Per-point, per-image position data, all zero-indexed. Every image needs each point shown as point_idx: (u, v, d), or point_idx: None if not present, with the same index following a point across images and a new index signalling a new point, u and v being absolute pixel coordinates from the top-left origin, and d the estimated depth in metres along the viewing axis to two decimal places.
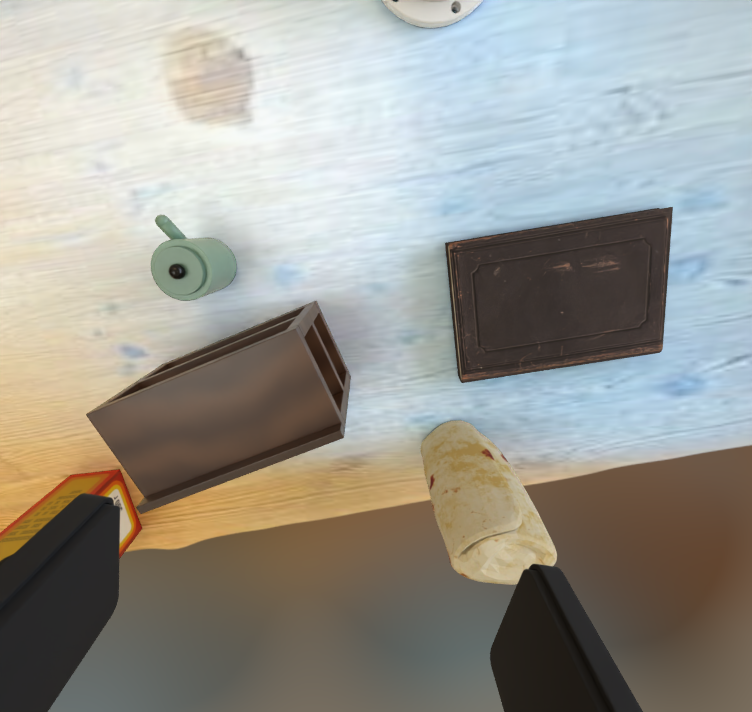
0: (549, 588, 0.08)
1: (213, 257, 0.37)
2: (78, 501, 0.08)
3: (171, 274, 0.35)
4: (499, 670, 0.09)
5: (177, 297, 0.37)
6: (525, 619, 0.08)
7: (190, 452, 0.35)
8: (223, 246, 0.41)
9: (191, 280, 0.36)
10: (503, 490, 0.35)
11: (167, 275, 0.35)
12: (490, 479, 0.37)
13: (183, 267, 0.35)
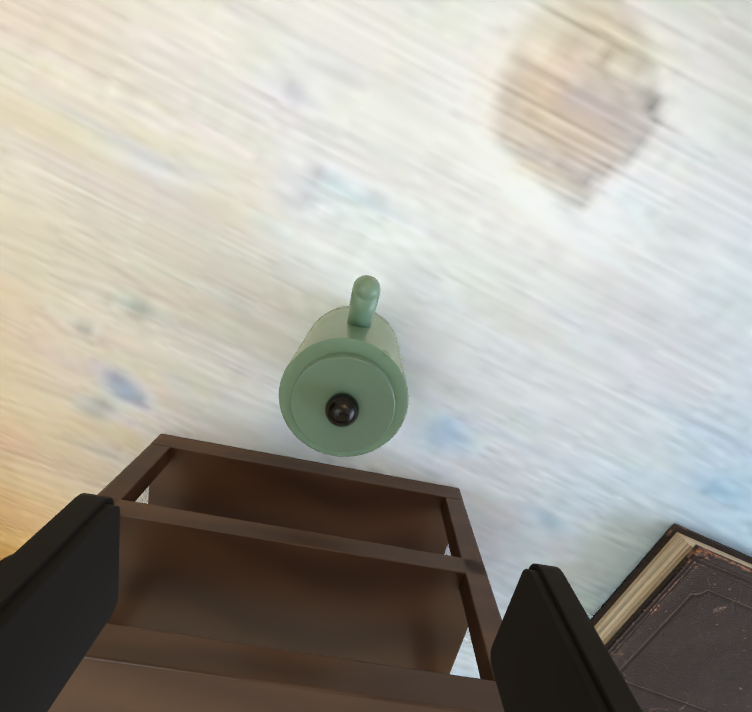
0: (549, 589, 0.08)
1: None
2: (78, 501, 0.08)
3: (333, 417, 0.15)
4: (499, 670, 0.09)
5: (299, 434, 0.17)
6: (525, 619, 0.08)
7: None
8: None
9: (352, 433, 0.17)
10: None
11: (316, 399, 0.16)
12: None
13: (358, 409, 0.16)
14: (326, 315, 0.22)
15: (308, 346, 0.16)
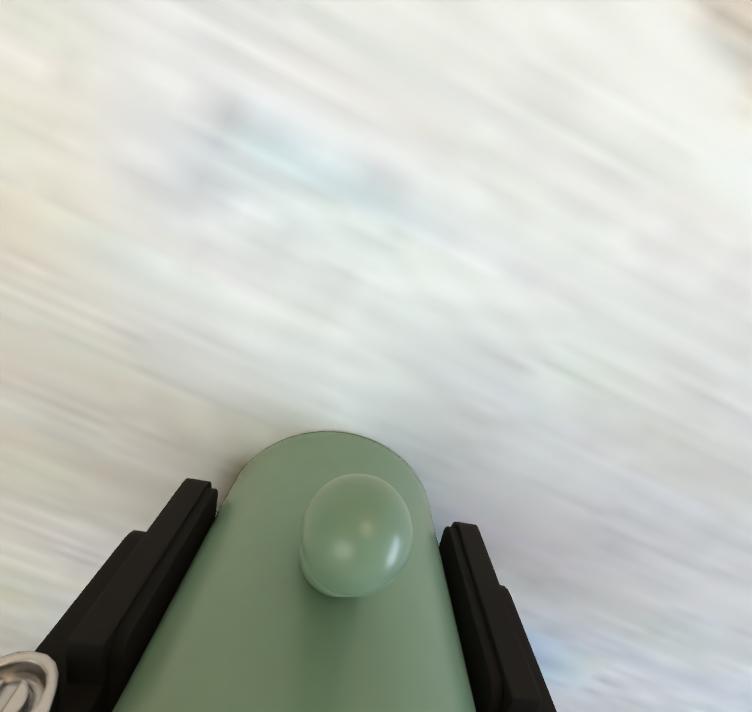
0: (463, 542, 0.09)
1: None
2: (187, 484, 0.09)
3: None
4: None
5: None
6: None
7: None
8: (435, 534, 0.10)
9: None
10: None
11: None
12: None
13: None
14: (263, 464, 0.09)
15: None
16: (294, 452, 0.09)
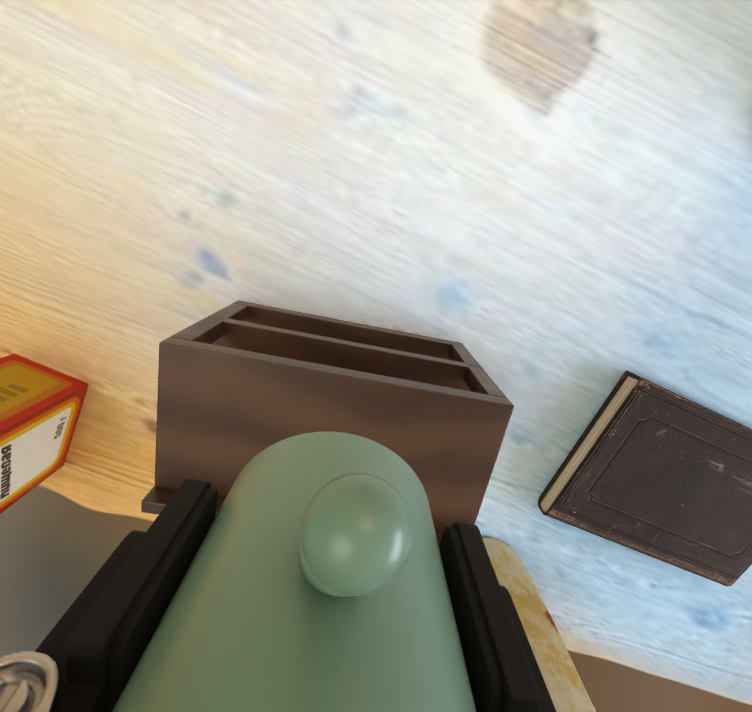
0: (463, 542, 0.09)
1: None
2: (187, 484, 0.09)
3: None
4: None
5: None
6: None
7: None
8: None
9: None
10: (583, 697, 0.28)
11: None
12: (565, 669, 0.29)
13: None
14: (263, 463, 0.09)
15: None
16: (294, 452, 0.09)
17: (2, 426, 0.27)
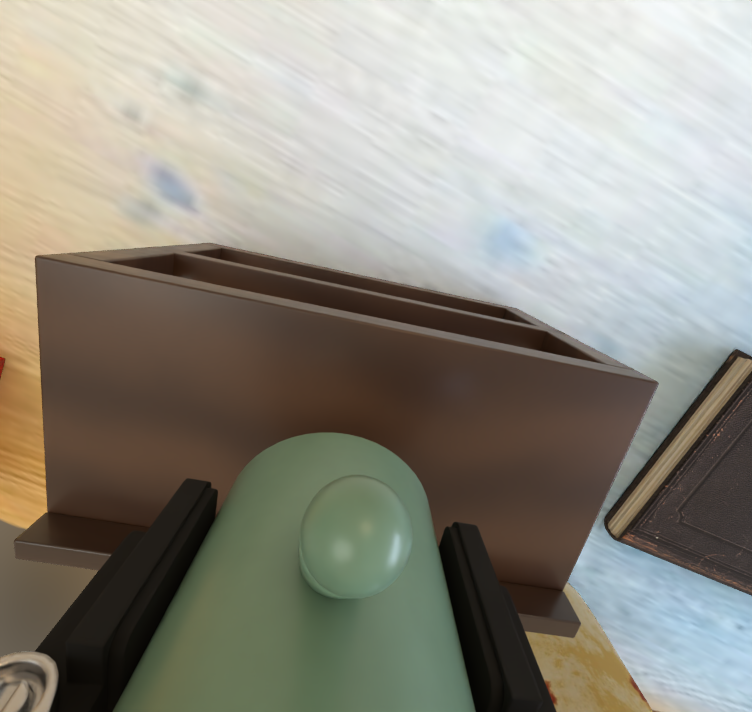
0: (463, 542, 0.09)
1: None
2: (187, 484, 0.09)
3: None
4: None
5: None
6: None
7: (229, 482, 0.14)
8: (435, 535, 0.10)
9: None
10: None
11: None
12: None
13: None
14: (263, 464, 0.09)
15: None
16: (294, 453, 0.09)
17: None
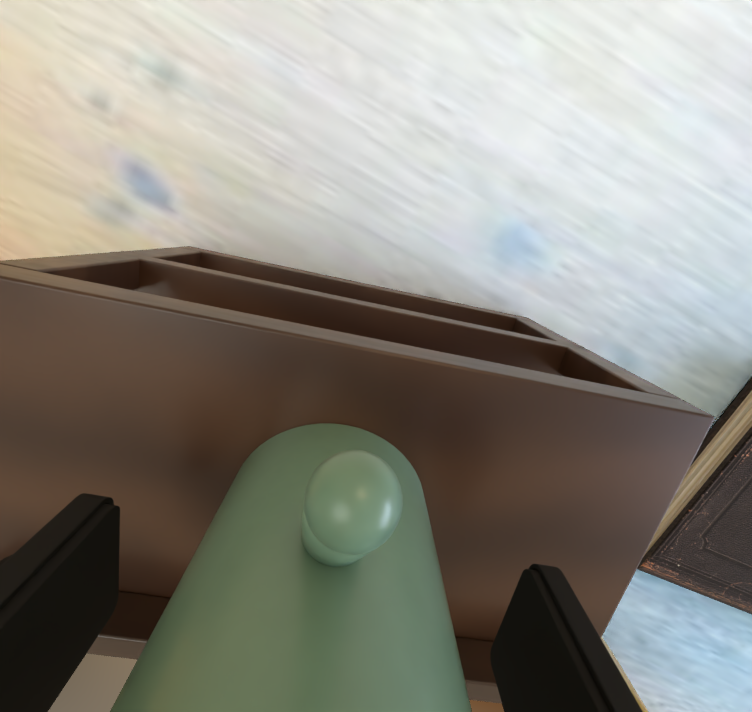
0: (549, 588, 0.08)
1: None
2: (78, 501, 0.08)
3: None
4: (499, 670, 0.09)
5: None
6: (525, 619, 0.08)
7: (197, 536, 0.12)
8: (429, 520, 0.10)
9: None
10: None
11: None
12: None
13: None
14: (266, 453, 0.10)
15: None
16: (295, 442, 0.10)
17: None
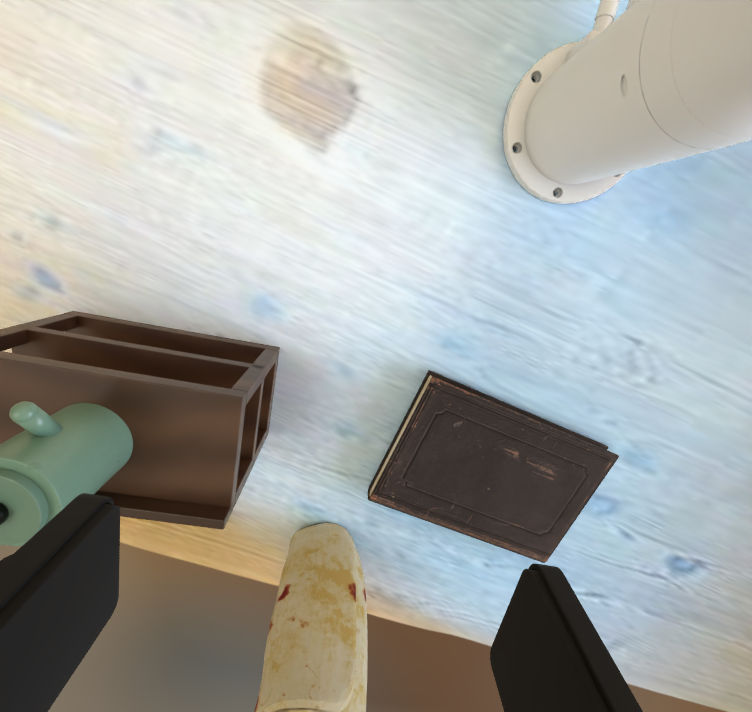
0: (549, 589, 0.08)
1: None
2: (78, 501, 0.08)
3: None
4: (499, 670, 0.09)
5: None
6: (525, 619, 0.08)
7: None
8: (121, 439, 0.26)
9: (10, 530, 0.21)
10: (348, 651, 0.32)
11: None
12: (342, 629, 0.34)
13: (6, 513, 0.20)
14: None
15: None
16: (64, 409, 0.26)
17: None
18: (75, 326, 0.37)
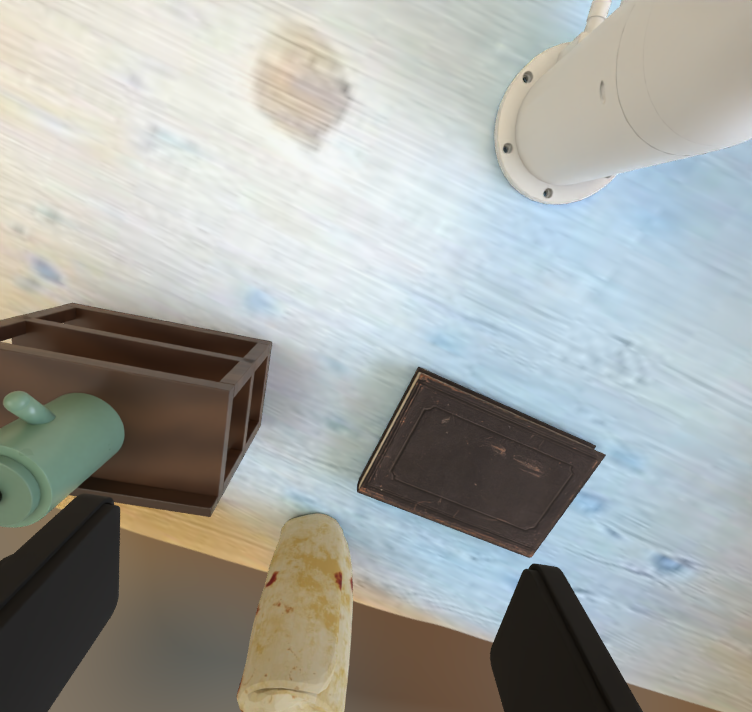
0: (549, 589, 0.08)
1: (69, 480, 0.23)
2: (78, 501, 0.08)
3: None
4: (499, 670, 0.09)
5: None
6: (525, 619, 0.08)
7: None
8: (112, 428, 0.27)
9: (4, 512, 0.22)
10: (330, 636, 0.33)
11: None
12: (326, 615, 0.35)
13: None
14: None
15: None
16: (58, 398, 0.27)
17: None
18: (74, 317, 0.38)
